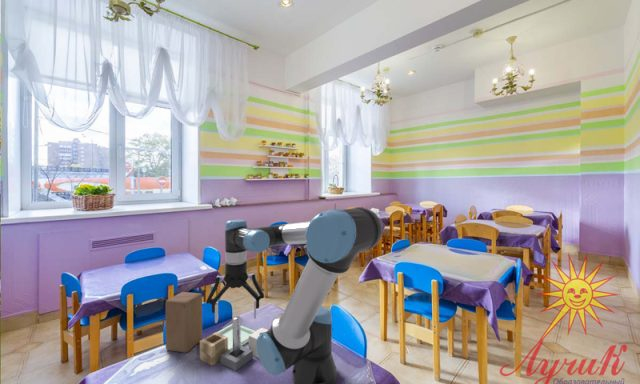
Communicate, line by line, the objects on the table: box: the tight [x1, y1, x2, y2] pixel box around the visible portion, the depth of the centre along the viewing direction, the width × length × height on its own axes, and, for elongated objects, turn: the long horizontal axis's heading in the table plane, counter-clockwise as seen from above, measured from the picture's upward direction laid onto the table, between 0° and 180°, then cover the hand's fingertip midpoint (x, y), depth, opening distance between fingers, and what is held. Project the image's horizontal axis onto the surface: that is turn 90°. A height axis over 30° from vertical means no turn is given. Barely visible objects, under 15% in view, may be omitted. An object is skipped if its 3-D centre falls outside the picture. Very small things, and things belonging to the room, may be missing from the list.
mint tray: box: [216, 323, 256, 350], centre depth 113 cm, size 15×15×2 cm
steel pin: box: [232, 315, 242, 358], centre depth 99 cm, size 3×3×16 cm
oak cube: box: [199, 331, 228, 366], centre depth 101 cm, size 7×7×7 cm
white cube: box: [248, 327, 269, 359], centre depth 105 cm, size 7×7×7 cm
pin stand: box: [220, 345, 254, 372], centre depth 99 cm, size 8×8×3 cm
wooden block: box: [165, 291, 203, 353], centre depth 109 cm, size 10×10×20 cm
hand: (236, 319), depth 99 cm, fingers open, 13 cm apart
